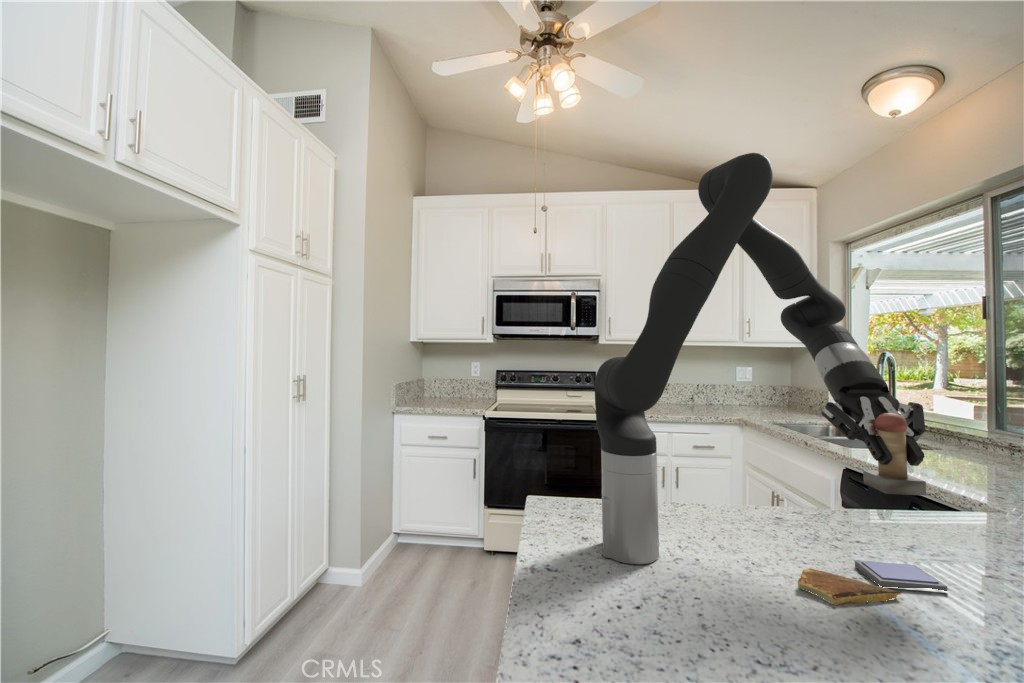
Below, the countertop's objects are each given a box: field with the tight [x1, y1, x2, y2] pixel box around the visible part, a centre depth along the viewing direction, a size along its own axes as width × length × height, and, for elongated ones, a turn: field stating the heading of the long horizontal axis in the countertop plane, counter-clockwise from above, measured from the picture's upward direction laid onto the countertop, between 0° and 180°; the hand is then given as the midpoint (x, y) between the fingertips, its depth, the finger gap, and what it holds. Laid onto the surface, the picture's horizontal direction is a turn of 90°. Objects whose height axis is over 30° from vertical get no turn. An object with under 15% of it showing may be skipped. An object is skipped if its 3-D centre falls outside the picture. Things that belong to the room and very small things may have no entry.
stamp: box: [862, 413, 927, 497], centre depth 62 cm, size 5×5×11 cm
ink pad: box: [854, 560, 949, 591], centre depth 61 cm, size 8×6×1 cm
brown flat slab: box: [797, 567, 902, 606], centre depth 57 cm, size 11×8×2 cm
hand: (902, 461), depth 60 cm, fingers closed on stamp, 3 cm apart
